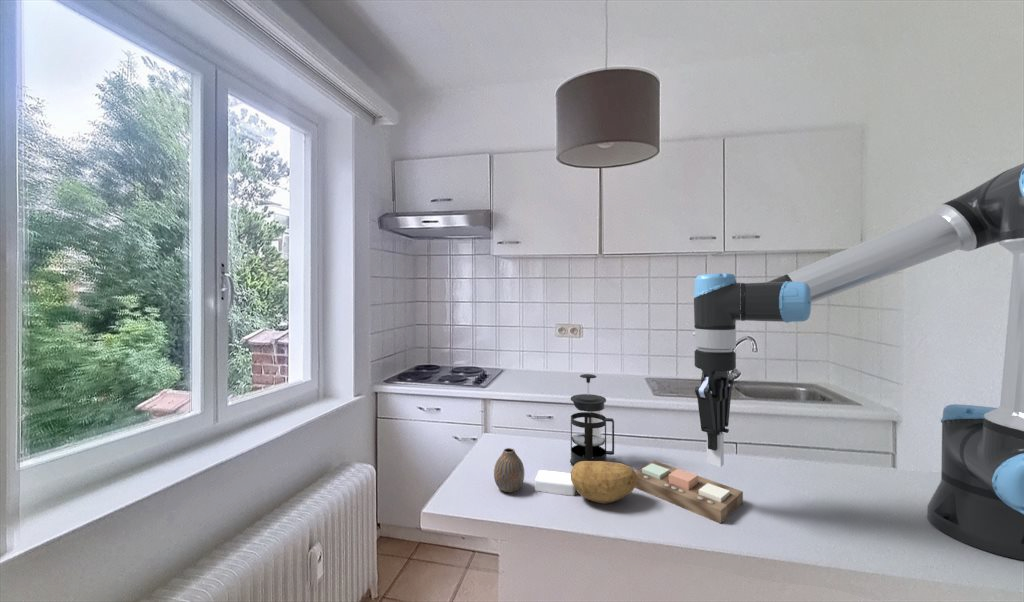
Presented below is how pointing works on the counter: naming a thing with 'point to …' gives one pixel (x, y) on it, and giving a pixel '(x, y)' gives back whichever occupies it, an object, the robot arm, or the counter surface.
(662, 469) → the sage button
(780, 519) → the counter surface
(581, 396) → the french press
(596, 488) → the potato
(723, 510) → the console
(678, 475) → the terracotta button
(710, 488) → the cream button
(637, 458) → the counter surface
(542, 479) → the soap
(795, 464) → the counter surface
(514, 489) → the vase
